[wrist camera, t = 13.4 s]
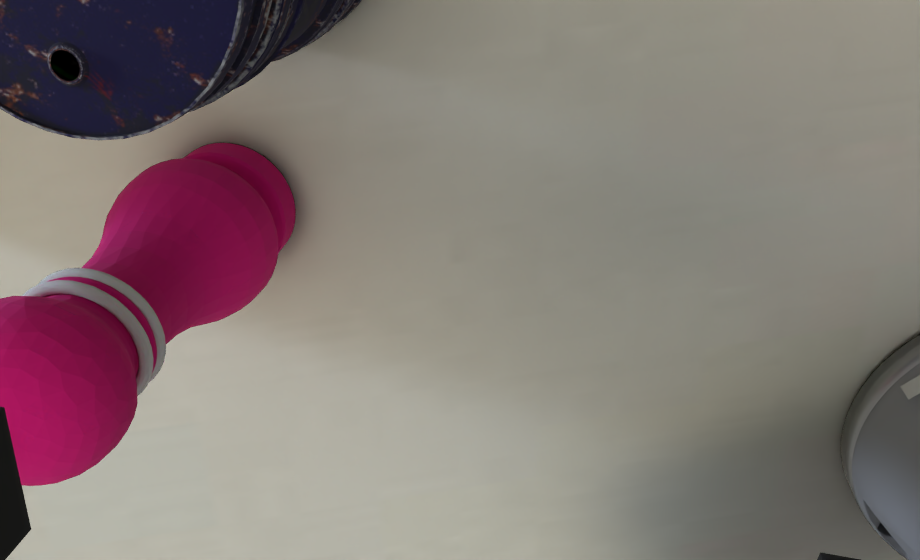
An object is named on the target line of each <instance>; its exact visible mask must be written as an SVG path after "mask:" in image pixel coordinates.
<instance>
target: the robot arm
mask: <svg viewBox="0 0 920 560" xmlns="http://www.w3.org/2000/svg"><path fill="white" fill-rule="evenodd" d="M841 458H842V464H843V469H844V472H845V475H846V479H847V481H848V483H849V486H850V488H851V490H852V493H853V495H854V497H855V499H856V502H857V504H858V506H859V508H860V510H861V512H862V513H863V515H864V517H865V518H866V520H867V521H868V522H869V524H870V525H871V526H872V527H873V528H874V529H875V531H876V532H877V533H878V534H879V535H880V536H881V537H882V538H883V540H885V541H886V542H887V543H888V544H889V545H890V546H891V547H892V548H893V549H894V550H896V551H897V552H898V553H899V554H901V555H902V556H904V557H905V558H907V559H908V560H920V335H919V336H917V337H916V338H914V339H912V340H911V341H909V342H908V343H906V344H905V345H904V346H902V347H901V348H900V349H898V350H897V351H896V352H894V353H893V354H892V355H891V356H890V357H889V358H888V359H886V360H885V361H884V362H883V363H882V364H881V365H880V366H879V367H878V368H877V369H876V370H875V371H874V372H873V373H872V375H871V376H870V377H869V378H868V380H867V381H866V382H865V384H864V385H863V386H862V388H861V389H860V391H859V392H858V394H857V396H856V397H855V399H854V401H853V403H852V405H851V407H850V409H849V411H848V414H847V417H846V420H845V423H844V427H843V432H842V439H841ZM30 530H31V526H30V522H29V517H28V513H27V508H26V504H25V499H24V494H23V490H22V485H21V481H20V476H19V472H18V467H17V463H16V458H15V453H14V449H13V444H12V440H11V435H10V431H9V426H8V422H7V417H6V412H5V408H4V407H0V560H5V559H6V558H7V557H8V556H9V555H10V553H11V552H12V551H13V550H14V549H15V548H16V546H17V545H18V544H19V543H20V542H21V541H22V539H23V538H24V537H25V536H26V535H27V533H28V532H29V531H30ZM817 560H859V559H854V558H848V557H842V556H837V555H831V554H826V553H820V555H819V557H818V559H817Z"/></svg>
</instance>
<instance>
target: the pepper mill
mask: <svg viewBox="0 0 920 560" xmlns="http://www.w3.org/2000/svg"><path fill="white" fill-rule="evenodd" d="M294 224H295V204H294V199H293V195H292V192H291V190H290V187H289V185H288V184H287V182H286V180H285V178H284V177H283V175H282V174H281V173H280V172H279V170H278V169H277V168H276V167H275V166H274V165H273V164H272V163H271V162H270V161H269V160H267V159H266V158H265V157H263V156H262V155H260V154H259V153H257V152H256V151H253V150H251V149H249V148H246V147H244V146H241V145H236V144H232V143H214V144H208V145H205V146H202V147H200V148H198V149H196V150H194V151H193V152H191V153H190V154H188V155H187V156H186V157H184V158H182V159H172V160H168V161H164V162H161V163H158V164H156V165H153V166H151V167H150V168H148V169H146V170H145V171H143V172H142V173H141V174H139V175H138V176H137V177H136V178H135V179H134V180H132V181H131V182H130V183H129V184H128V185H127V186H126V187H125V189H124V190H123V191H122V192H121V193H120V194H119V195H118V197H117V199H116V201H115V202H114V204H113V206H112V208H111V210H110V212H109V214H108V215H107V219H106V222H105V226H104V231H103V235H102V239H101V242H100V244H99V247H98V248H97V250H96V251H95V253H94V255H93V256H92V258H91V259H90V260H89V261H88V262H87V263H86V264H85V265H84V266H83V267H82V268H70V269H64V270H60V271H57V272H55V273H52V274H50V275H48V276H47V277H45V278H44V279H43V280H41V282H40V283H39V284H38V285H36V286H34V287H32V288H31V289H29V290H28V291H27V292H25V293H24V294H23V295H22V296H11V297H6V298H2V299H0V407H4V408H5V412H6V417H7V422H8V426H9V431H10V435H11V440H12V444H13V449H14V453H15V458H16V463H17V467H18V472H19V476H20V481H21V485H26V486H35V485H46V484H53V483H58V482H61V481H64V480H66V479H69V478H72V477H75V476H78V475H80V474H82V473H83V472H85V471H86V470H88V469H89V468H91V467H93V466H94V465H96V464H97V463H99V462H100V461H101V460H102V459H103V458H104V457H105V456H106V455H107V454H108V453H109V452H110V451H111V450H112V449H114V448H115V447H116V446H117V445H118V443H119V442H120V440H121V439H122V437H123V436H124V435H125V433H126V432H127V430H128V428H129V426H130V424H131V422H132V420H133V418H134V415H135V411H136V407H137V396H138V395H139V394H140V393H142V391H143V390H144V389H145V387H146V386H147V385H148V383H149V382H150V381H151V380H152V379H154V377H155V376H156V375H157V374H158V372H159V371H160V369H161V367H162V365H163V362H164V358H165V354H166V344H167V343H168V342H169V341H170V340H171V339H173V338H174V337H175V336H176V335H177V334H179V333H181V332H183V331H185V330H186V329H188V328H190V327H194V326H198V325H203V324H207V323H211V322H215V321H219V320H221V319H223V318H225V317H227V316H229V315H231V314H233V313H235V312H237V311H239V310H241V309H242V308H243V307H244V306H246V305H247V304H248V303H250V302H251V301H252V300H253V299H254V298H255V297H256V296H257V295H258V294H259V293H260V292H261V291H262V289H263V288H264V287H265V286H266V285H267V283H268V281H269V280H270V278H271V276H272V274H273V272H274V269H275V266H276V263H277V257H278V253H279V252H280V250H281V249H282V248H283V247H284V245H285V244H286V243H287V241H288V240H289V238H290V236H291V234H292V232H293V228H294Z"/></svg>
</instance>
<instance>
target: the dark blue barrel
mask: <svg viewBox="0 0 920 560" xmlns="http://www.w3.org/2000/svg"><path fill="white" fill-rule="evenodd" d="M360 2H361V0H0V109H1V110H3V111H5V112H7V113H8V114H10V115H12V116H14V117H15V118H17V119H19V120H21V121H23V122H26V123H28V124H31V125H33V126H36V127H38V128H41V129H43V130H45V131H49V132H53V133H57V134H60V135H64V136H68V137H72V138H81V139H91V140H112V139H125V138H129V137H133V136H137V135H142V134H146V133H149V132H151V131H154V130H156V129H158V128H160V127H162V126H165V125H167V124H169V123H171V122H173V121H174V120H176V119H178V118H179V117H181V116H183V115H184V114H186V113H187V112H191V111H194V110H196V109H199V108H201V107H203V106H205V105H207V104H210V103H212V102H214V101H216V100H217V99H219V98H221V97H222V96H224V95H225V94H227V93H229V92H230V91H232V90H233V89H235V88H237V87H239V86H242V85H243V84H245V83H246V82H248V81H249V80H250V79H252V78H253V77H255V76H256V75H258V74H259V73H260V72H261V71H262V70H263V69H264V68H265V67H266V66H267V65H268V64H269V63H270V62H272V61H276V60H279V59H282V58H284V57H286V56H288V55H290V54H292V53H294V52H297V51H298V50H300V49H301V48H302V47H305V46H307V45H309V44H310V43H312V42H313V41H315V40H317V39H318V38H319V37H321V36H322V35H324V34H325V33H326V32H328V31H329V30H331V29H332V27H333V26H334V25H335V24H337V23H338V22H340V21H341V20H343V19H344V18H345V17H347V16H348V15H349V14H350V13H351V12H352V11H353V10H354V9H355V8H356V7H357V6H358V4H359V3H360Z"/></svg>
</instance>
